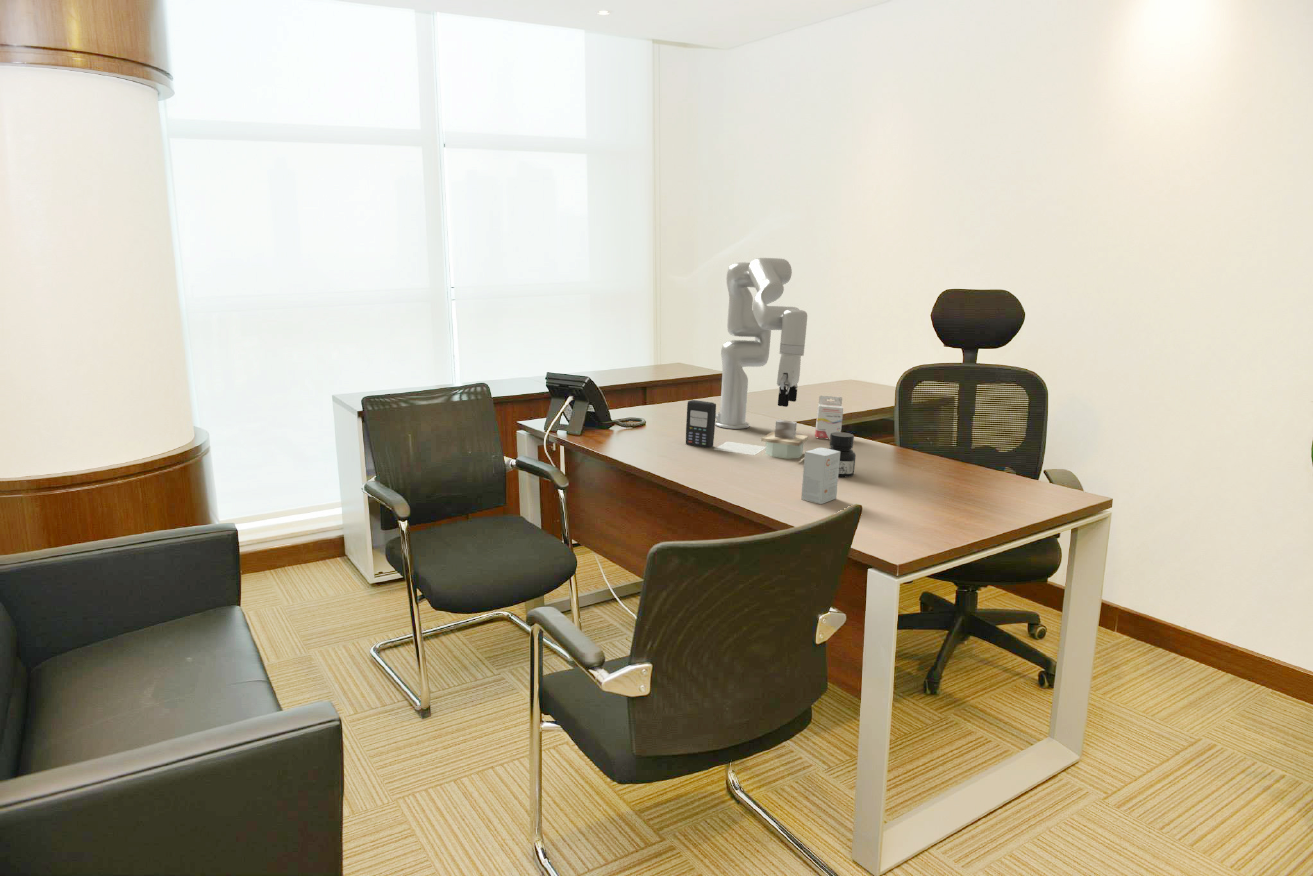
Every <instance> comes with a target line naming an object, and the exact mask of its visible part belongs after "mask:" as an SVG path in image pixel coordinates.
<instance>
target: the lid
mask: <svg viewBox="0 0 1313 876" xmlns="http://www.w3.org/2000/svg"><path fill="white" fill-rule="evenodd" d="M797 424H798V423H797V421H791V420H783V419H777V420H775V425H774V426H775V427H774V428H775V429H774V431H771V432H769V433H767V434H766V435H764V436H763V437H761V438H760V439H761V440H760V441H761V442H765V443H766V442H771V443H779V444H786V445H794V446H799V445H801V444H802V443H803V442H804V443H805V442H806V441H808V440H809V435H804V434H803V435H801V434H797Z"/></svg>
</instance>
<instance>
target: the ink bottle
mask: <svg viewBox="0 0 1313 876" xmlns="http://www.w3.org/2000/svg"><path fill="white" fill-rule="evenodd" d="M854 437H855V435H854V434H852V433H850V432H842V431H841V432H833V433H831V434H830V439H829V448H828V449H832V450H836V451H840V462H839V474H838V478H850V477H853V476H854V475H855V468H856V467H855V466H856V455H857V454H856V452H855V451H854V450H853V448H854V440H855V439H854Z"/></svg>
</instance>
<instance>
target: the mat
mask: <svg viewBox="0 0 1313 876" xmlns="http://www.w3.org/2000/svg"><path fill="white" fill-rule="evenodd" d="M765 449H766V445H765V446H764V445H763V446H762V445H755V444H749V443H741V442H734V441H725V442H724V443H722V444H720V445H718V446H717V447H715V448H713V449H712V450H715V451H722V452H729V453H734V454H735V453H736V454H743V455H744V454H745V455H749V456H756V455H757V454H759V453H761V452H762V451H764V450H765Z"/></svg>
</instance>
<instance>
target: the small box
mask: <svg viewBox="0 0 1313 876" xmlns="http://www.w3.org/2000/svg"><path fill="white" fill-rule="evenodd" d="M839 462H840V451H836V450H832V449H829V448H826V447H817V448H814V449H809V450H807V451H804V459H803V471H802V472H803V473H802V484H801V485H802V487H801V500H802V501H807V502H811V503H814V504H819V505H823V504H826V503H828V502H831V501H833V500H836V499H837V493H838V482H839V477H838V474H839Z"/></svg>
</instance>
